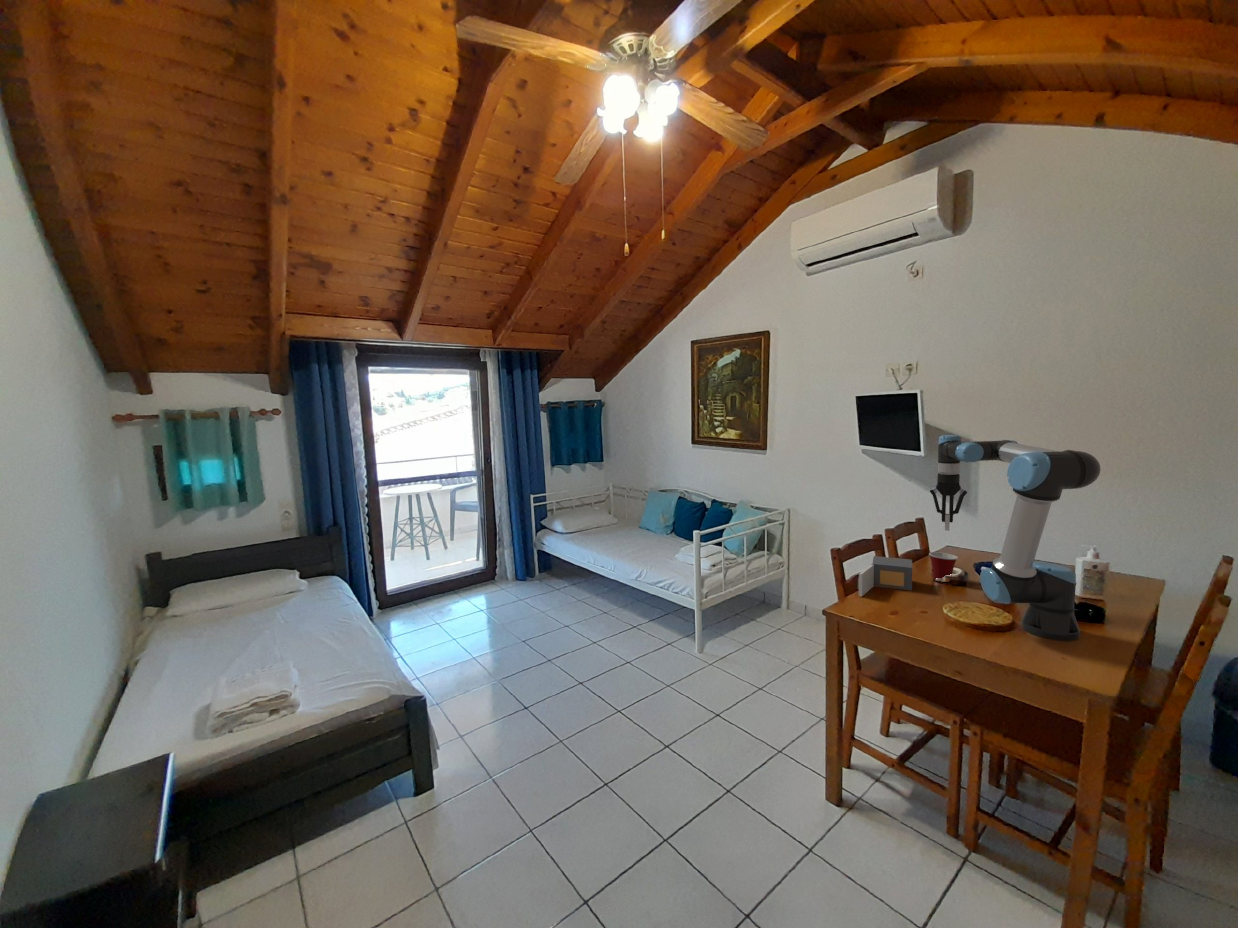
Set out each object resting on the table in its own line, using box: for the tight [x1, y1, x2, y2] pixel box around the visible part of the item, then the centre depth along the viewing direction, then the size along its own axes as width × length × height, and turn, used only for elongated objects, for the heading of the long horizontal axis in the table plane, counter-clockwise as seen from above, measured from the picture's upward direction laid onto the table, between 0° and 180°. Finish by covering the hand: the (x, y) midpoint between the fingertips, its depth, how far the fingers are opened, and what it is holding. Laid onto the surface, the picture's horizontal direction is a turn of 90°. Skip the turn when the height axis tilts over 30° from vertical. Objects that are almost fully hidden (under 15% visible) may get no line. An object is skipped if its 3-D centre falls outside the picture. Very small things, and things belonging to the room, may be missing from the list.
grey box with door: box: [871, 555, 913, 592], centre depth 218 cm, size 14×15×10 cm
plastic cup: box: [928, 551, 959, 579], centre depth 218 cm, size 11×11×12 cm
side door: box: [857, 563, 875, 598], centre depth 211 cm, size 2×16×10 cm, turn 136°
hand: (946, 529), depth 204 cm, fingers closed
